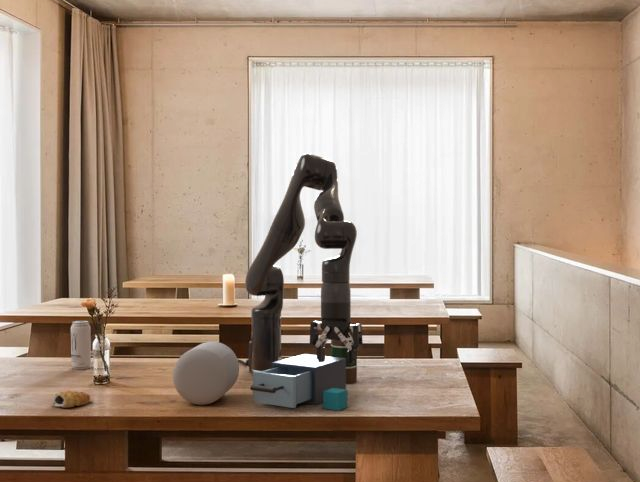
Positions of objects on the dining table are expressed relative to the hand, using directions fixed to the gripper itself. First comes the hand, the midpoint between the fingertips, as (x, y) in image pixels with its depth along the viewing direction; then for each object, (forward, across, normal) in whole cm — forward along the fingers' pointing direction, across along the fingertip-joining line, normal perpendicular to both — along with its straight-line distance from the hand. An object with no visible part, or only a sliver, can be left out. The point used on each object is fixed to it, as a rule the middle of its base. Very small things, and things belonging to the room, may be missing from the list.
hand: (335, 363), depth 210 cm
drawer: (+10, +13, +4) cm, 17 cm away
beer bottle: (+12, +15, -30) cm, 36 cm away
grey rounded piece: (+12, +37, +7) cm, 40 cm away
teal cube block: (+12, 0, 0) cm, 12 cm away
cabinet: (+11, +13, -8) cm, 19 cm away
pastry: (+11, +60, +33) cm, 70 cm away
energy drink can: (+11, +97, -4) cm, 98 cm away
